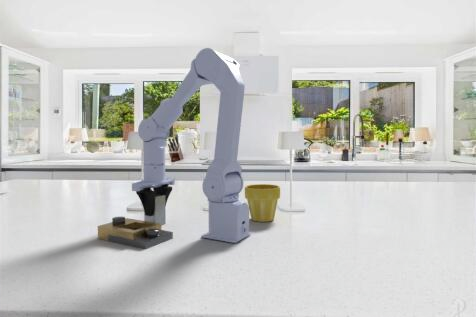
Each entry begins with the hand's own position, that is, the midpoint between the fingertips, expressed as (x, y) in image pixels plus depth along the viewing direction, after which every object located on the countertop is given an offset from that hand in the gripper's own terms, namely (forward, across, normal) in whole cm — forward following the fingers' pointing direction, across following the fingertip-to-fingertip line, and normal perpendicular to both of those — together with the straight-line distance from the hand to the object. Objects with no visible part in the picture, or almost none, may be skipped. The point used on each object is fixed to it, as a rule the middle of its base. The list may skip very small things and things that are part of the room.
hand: (154, 213), depth 93 cm
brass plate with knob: (+3, +12, +5) cm, 13 cm away
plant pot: (+3, -20, +23) cm, 31 cm away
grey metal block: (+3, 0, 0) cm, 3 cm away
